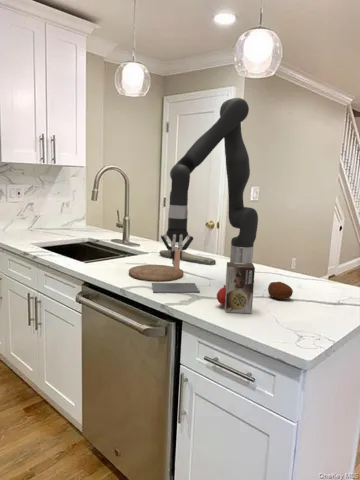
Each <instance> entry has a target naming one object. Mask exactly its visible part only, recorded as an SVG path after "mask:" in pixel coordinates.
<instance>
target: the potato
mask: <svg viewBox="0 0 360 480" xmlns="http://www.w3.org/2000/svg"><path fill="white" fill-rule="evenodd" d="M293 292H294V291H293V288H292V287H291V286H290V285H288V284H286V283H284V282H282V281H272V282H270V283H269V284H268V287H267V293H268V295H269V296H270V297H272V298H274V299H277V300H280V301H283V300H287V299H290V298H291V297H292V296H293V294H294V293H293Z"/></svg>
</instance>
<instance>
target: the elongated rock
mask: <svg viewBox="0 0 360 480" xmlns="http://www.w3.org/2000/svg"><path fill="white" fill-rule="evenodd" d="M159 255H160V256H162V257H164V258H168V259H171V250H168V249H167V250H166V249H164V250H163V249H162V250H160V251H159ZM180 261H186V262H189V263H190V262H192V263H196V264H199V265H200V264H201V265H207V266H208V265H209V266H213V265H216V264H217V263H216V262H217V261H216V259H214V258H212V257H209V256H208V257H207V256H201V255H197V254H196V255H195V254H191V253H188V252H186V250H183V251H182V258H181V259H180Z"/></svg>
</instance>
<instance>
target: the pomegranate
mask: <svg viewBox="0 0 360 480" xmlns="http://www.w3.org/2000/svg"><path fill="white" fill-rule="evenodd" d="M225 297H226V284H224V285H223V287H221V288H220V289H219V290H218V291H217V293H216V299H217V302H218V303H219V304H220V305H221V306H222V307H223V308H225V307H224V306H225Z"/></svg>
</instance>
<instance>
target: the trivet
mask: <svg viewBox="0 0 360 480" xmlns="http://www.w3.org/2000/svg"><path fill="white" fill-rule="evenodd" d="M128 276H129V277H130V278H132V279H134V280H138V281H142V282H143V281H144V282H151V283H168V282H174V281H177V280H180V279H182V278H183V277H184V270H183V269H181V268H179V269H175V268H174V266H173V265H165V264H142V265H137V266H133V267H131V268H129V269H128Z"/></svg>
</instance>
